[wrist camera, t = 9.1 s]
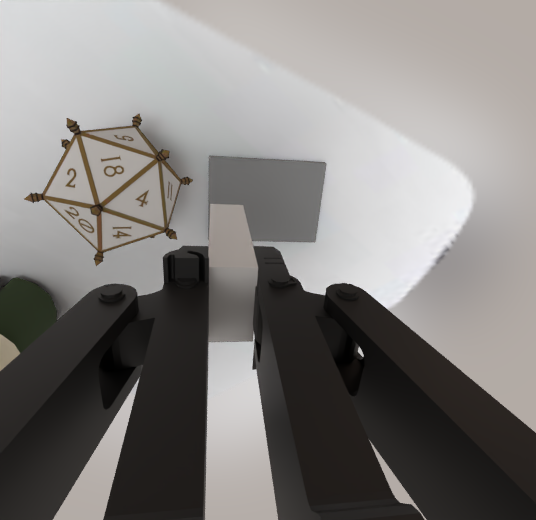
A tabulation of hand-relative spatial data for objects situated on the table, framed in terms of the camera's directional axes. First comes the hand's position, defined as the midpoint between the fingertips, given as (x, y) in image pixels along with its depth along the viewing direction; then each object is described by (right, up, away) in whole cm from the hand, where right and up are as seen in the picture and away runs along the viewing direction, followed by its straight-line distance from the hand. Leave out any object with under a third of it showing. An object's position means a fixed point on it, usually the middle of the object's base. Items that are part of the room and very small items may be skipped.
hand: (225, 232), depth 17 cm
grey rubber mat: (+2, +4, +12) cm, 13 cm away
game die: (-8, +5, +10) cm, 14 cm away
